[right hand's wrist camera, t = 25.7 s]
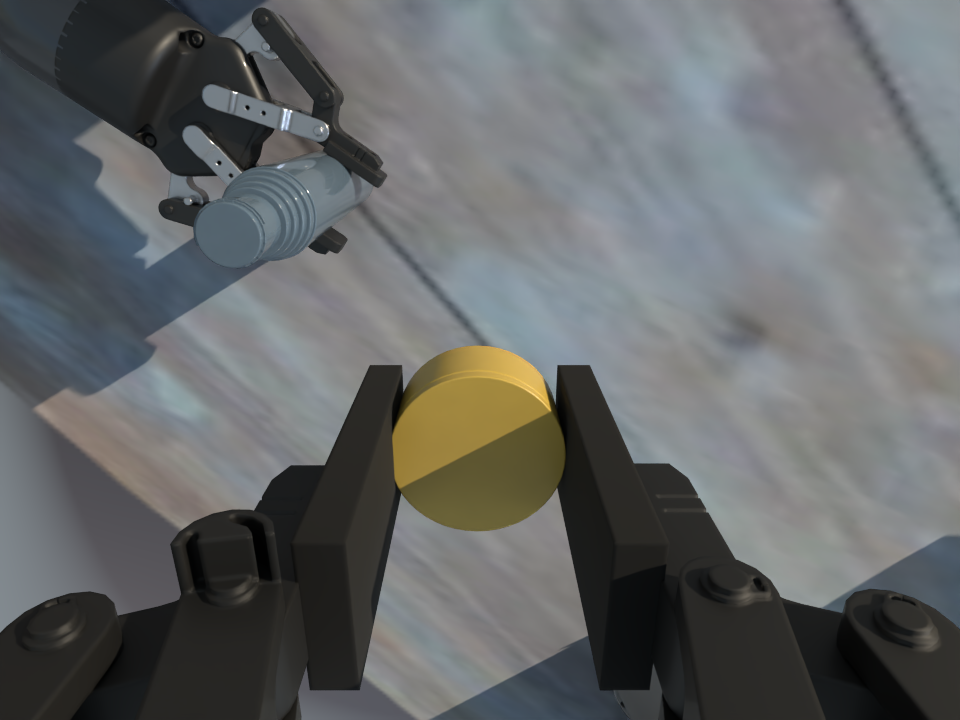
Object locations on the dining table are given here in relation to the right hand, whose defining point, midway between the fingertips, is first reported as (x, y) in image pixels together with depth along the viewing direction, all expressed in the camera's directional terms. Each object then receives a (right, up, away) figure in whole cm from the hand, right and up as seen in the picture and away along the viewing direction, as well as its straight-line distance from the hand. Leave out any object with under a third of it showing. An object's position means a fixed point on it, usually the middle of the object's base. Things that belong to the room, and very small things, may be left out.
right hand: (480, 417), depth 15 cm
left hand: (-7, +10, +23) cm, 26 cm away
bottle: (-10, +14, +29) cm, 34 cm away
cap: (0, -1, -2) cm, 2 cm away
